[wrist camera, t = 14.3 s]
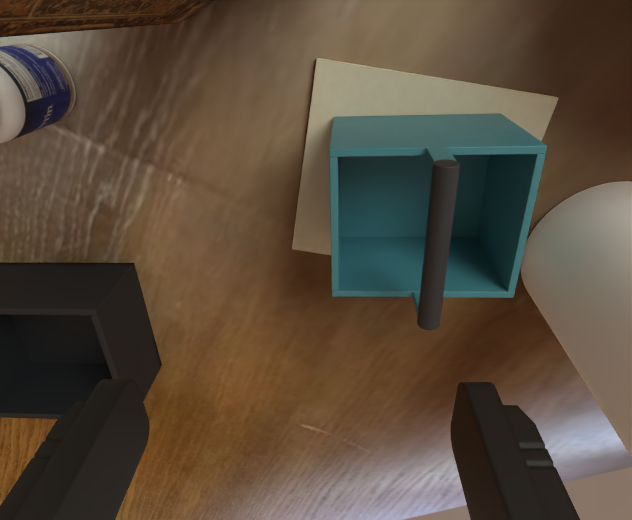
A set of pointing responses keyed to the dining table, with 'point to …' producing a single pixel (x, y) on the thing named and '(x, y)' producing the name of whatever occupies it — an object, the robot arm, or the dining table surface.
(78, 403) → the robot arm
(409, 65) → the dining table surface
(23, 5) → the book
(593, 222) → the canister
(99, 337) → the charcoal bin
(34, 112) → the pill bottle
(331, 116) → the cream mat
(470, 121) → the teal bin
